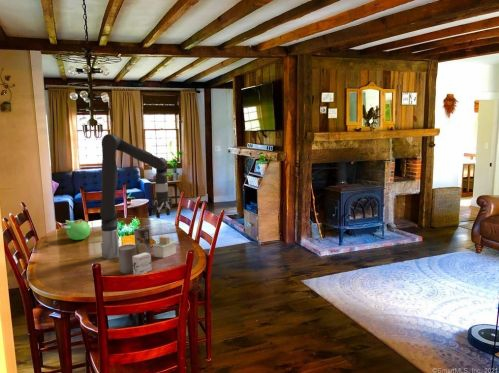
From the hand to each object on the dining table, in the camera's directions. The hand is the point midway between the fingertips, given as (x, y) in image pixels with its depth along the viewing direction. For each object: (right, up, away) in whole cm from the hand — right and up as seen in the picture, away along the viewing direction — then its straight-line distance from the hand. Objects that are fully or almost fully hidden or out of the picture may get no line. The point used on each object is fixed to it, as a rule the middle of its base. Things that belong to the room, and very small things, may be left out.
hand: (163, 216), depth 243 cm
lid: (0, -18, +3) cm, 18 cm away
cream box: (0, -24, +3) cm, 24 cm away
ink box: (-4, -29, -32) cm, 44 cm away
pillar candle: (-14, -28, -24) cm, 40 cm away
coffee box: (-14, -24, +5) cm, 28 cm away
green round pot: (-71, -20, +42) cm, 85 cm away
